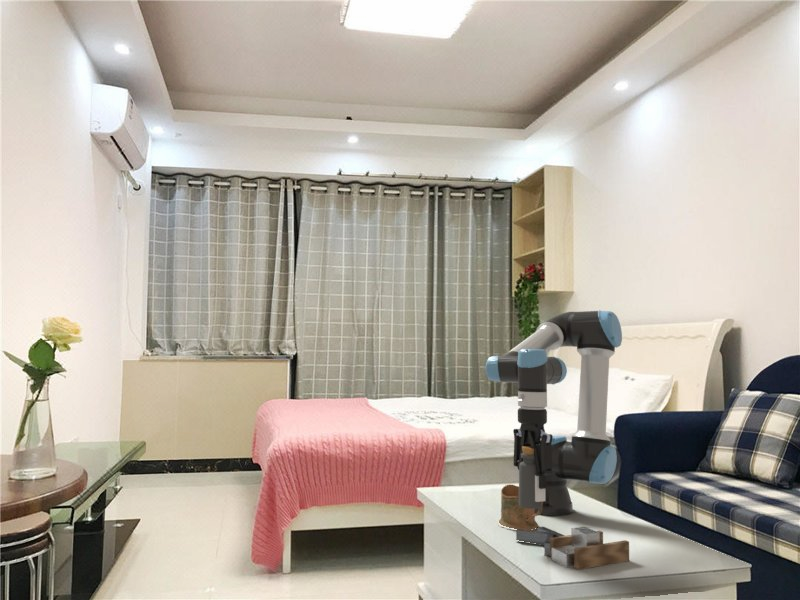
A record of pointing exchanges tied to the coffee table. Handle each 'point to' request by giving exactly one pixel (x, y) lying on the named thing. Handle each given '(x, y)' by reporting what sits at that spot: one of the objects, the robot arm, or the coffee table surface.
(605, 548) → the parallel wooden rails
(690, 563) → the coffee table surface
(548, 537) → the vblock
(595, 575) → the coffee table surface
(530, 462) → the bottle
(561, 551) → the grey stepped block
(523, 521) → the mug
